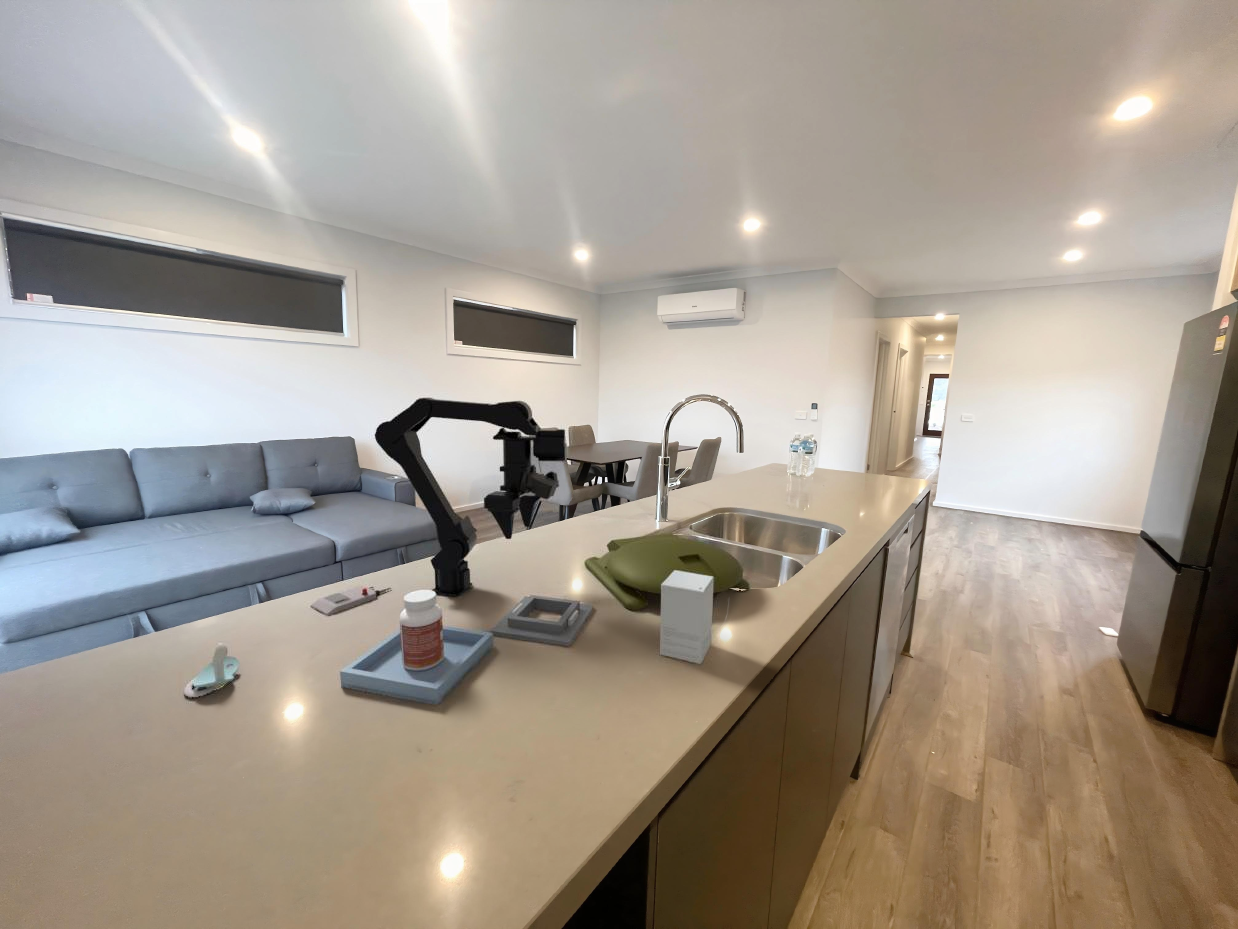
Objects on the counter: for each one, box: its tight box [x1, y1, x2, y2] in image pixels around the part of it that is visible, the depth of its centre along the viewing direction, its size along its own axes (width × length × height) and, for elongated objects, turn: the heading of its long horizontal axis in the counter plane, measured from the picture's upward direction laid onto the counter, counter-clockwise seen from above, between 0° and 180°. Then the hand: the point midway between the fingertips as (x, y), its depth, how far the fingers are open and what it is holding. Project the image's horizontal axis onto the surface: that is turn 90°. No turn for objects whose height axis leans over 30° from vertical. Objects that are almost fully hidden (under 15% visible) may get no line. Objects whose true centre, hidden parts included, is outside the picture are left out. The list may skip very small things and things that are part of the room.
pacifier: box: [183, 642, 240, 698], centre depth 70 cm, size 7×6×6 cm
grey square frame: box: [489, 594, 595, 648], centre depth 92 cm, size 15×15×2 cm
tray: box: [339, 625, 494, 706], centre depth 77 cm, size 16×16×2 cm
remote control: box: [310, 585, 392, 616], centre depth 99 cm, size 7×16×3 cm, turn 147°
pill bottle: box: [399, 589, 444, 671], centre depth 76 cm, size 6×6×11 cm
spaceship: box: [583, 533, 750, 611], centre depth 112 cm, size 35×31×10 cm
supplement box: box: [659, 570, 714, 665], centre depth 82 cm, size 7×7×13 cm
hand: (518, 532), depth 104 cm, fingers open, 9 cm apart
